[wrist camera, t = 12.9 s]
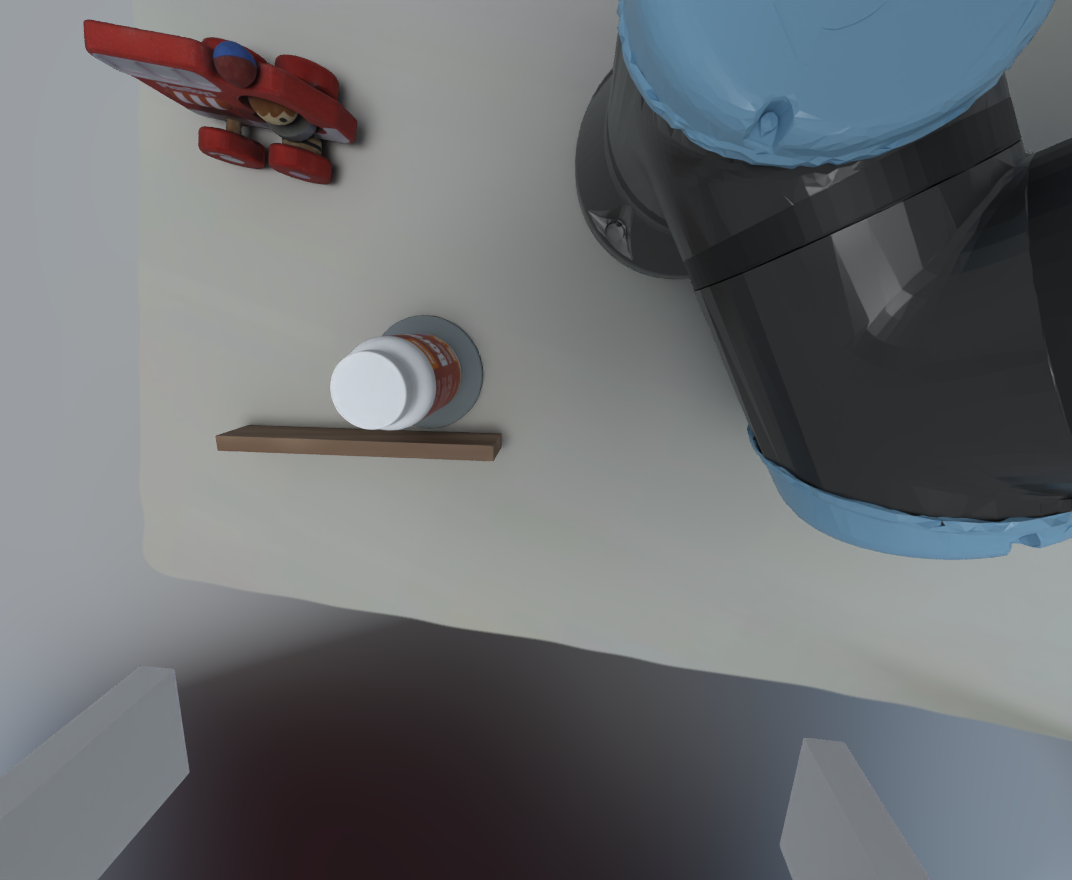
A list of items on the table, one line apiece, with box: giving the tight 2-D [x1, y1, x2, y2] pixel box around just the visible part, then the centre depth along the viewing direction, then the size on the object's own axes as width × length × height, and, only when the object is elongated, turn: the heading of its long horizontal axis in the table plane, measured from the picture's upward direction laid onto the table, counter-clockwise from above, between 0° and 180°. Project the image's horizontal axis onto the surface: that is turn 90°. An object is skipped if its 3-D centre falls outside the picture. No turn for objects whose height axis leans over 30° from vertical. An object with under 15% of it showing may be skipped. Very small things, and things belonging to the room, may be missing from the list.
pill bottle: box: [330, 333, 461, 430], centre depth 34 cm, size 6×6×11 cm
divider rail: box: [216, 425, 501, 461], centre depth 40 cm, size 1×22×4 cm, turn 90°
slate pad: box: [382, 316, 483, 428], centre depth 40 cm, size 9×9×1 cm
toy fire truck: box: [84, 20, 357, 184], centre depth 32 cm, size 7×12×10 cm, turn 78°
